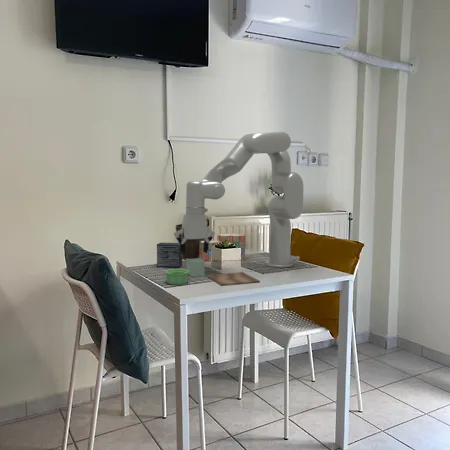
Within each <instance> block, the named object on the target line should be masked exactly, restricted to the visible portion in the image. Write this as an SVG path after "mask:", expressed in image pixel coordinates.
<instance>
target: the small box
mask: <svg viewBox="0 0 450 450" xmlns="http://www.w3.org/2000/svg"><path fill="white" fill-rule="evenodd" d="M182 266H183V255H182V253H181V251H180V243H179V242H158V243H157V244H156V268H160V267H165V268H166V269H168V268H169V269H181V267H182ZM165 268H164V269H165Z"/></svg>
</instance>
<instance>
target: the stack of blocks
mask: <svg viewBox="0 0 450 450" xmlns="http://www.w3.org/2000/svg"><path fill="white" fill-rule="evenodd" d="M216 239H217V240H211V241H210V242H209V243H208V250H207V253H205V252H203V243H204V242H205V241H199V257H198V258H200V259H202V260H204V261H205V263H207V262H212V261H211V248H212V247H213V246H214V245H216V244H218V243H221V242H223V241H224V240H227V241H229V242H230V243H233V244H235V245H236V247H238V248H241V259H242V260H241V261H245V259H246V235H244V234H243V233H224V234H223V233H221V234H219V233H218V234H217V238H216Z"/></svg>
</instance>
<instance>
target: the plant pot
mask: <svg viewBox="0 0 450 450" xmlns="http://www.w3.org/2000/svg"><path fill="white" fill-rule="evenodd" d="M181 229H182V223H180V224H176V225H175V232H177V231H179V230H181ZM179 238H180V239H181V238H182V235H181V234H179ZM199 241H204V240H203V239H187V240H186V241H185V243H184V244H185V254H183V253H182V259H196V258H199ZM177 243H180V242H179V241H178V240H177Z"/></svg>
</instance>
